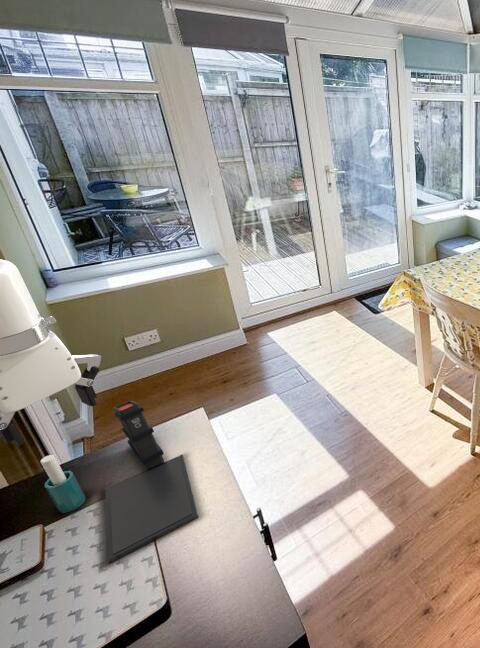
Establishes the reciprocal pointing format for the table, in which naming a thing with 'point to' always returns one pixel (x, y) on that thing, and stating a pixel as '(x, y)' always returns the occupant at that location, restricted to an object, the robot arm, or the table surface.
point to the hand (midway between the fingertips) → (55, 421)
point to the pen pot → (66, 493)
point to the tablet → (148, 507)
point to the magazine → (139, 434)
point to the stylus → (53, 470)
